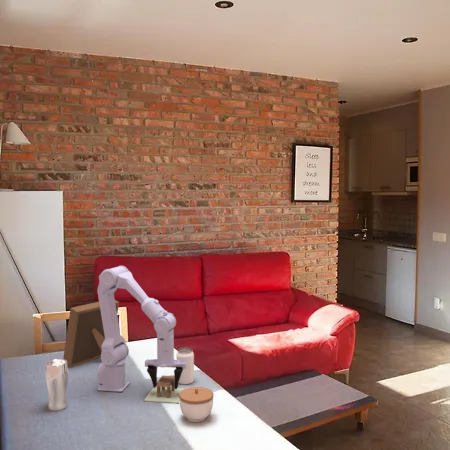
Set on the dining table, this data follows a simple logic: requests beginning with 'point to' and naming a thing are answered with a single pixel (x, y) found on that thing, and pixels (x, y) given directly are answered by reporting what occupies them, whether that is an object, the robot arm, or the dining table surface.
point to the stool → (166, 385)
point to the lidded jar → (196, 403)
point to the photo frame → (84, 334)
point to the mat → (164, 396)
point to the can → (188, 372)
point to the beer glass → (57, 383)
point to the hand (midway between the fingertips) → (165, 387)
